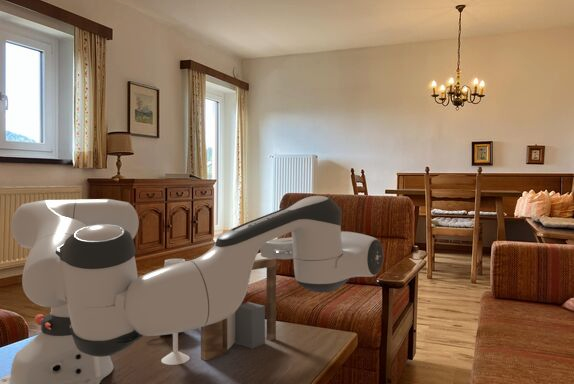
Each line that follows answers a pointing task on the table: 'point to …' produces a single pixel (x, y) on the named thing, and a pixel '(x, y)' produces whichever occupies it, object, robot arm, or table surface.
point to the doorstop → (250, 325)
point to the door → (230, 330)
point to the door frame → (217, 332)
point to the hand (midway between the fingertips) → (278, 242)
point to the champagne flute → (174, 334)
